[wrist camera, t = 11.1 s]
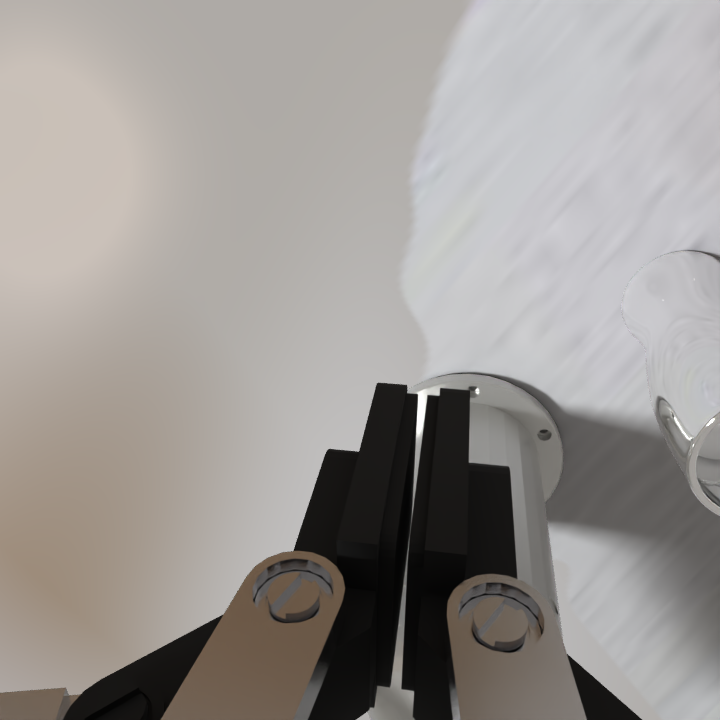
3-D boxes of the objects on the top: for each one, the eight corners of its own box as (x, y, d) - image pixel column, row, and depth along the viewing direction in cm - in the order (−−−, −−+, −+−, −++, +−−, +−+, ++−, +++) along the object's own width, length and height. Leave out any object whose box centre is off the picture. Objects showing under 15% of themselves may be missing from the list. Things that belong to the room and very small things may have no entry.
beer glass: (772, 288, 36) (935, 451, 23) (676, 374, 40) (772, 558, 27) (676, 217, 35) (791, 347, 22) (586, 311, 39) (641, 471, 26)
